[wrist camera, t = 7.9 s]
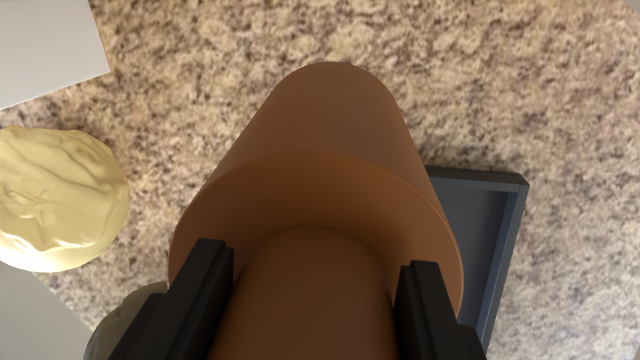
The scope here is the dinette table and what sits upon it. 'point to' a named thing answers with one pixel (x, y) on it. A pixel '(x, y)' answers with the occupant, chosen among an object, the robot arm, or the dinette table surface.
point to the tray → (481, 235)
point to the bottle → (319, 222)
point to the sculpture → (58, 198)
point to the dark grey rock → (119, 322)
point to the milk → (46, 48)
